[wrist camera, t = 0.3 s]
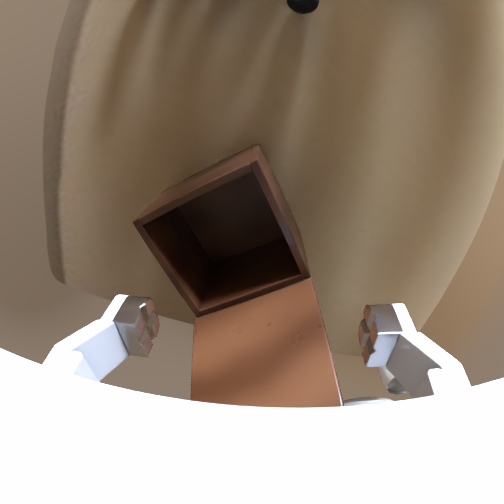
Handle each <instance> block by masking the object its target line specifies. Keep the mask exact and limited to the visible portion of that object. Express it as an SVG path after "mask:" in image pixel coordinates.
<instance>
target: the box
mask: <svg viewBox="0 0 504 504" xmlns="http://www.w3.org/2000/svg"><path fill="white" fill-rule="evenodd" d="M133 224H134V225H135V227H136V229H137V230H138V232H139V233H140V235H141V236H142V238H143V240H144V241H145V243H146V244H147V246H148V247H149V249H150V250H151V252H152V253H153V255H154V256H155V258H156V259H157V261H158V262H159V264H160V265H161V267H162V268H163V270H164V271H165V273H166V274H167V276H168V277H169V279H170V280H171V282H172V283H173V284H174V286H175V287H176V289H177V290H178V292H179V293H180V294H181V296H182V297H183V299H184V300H185V301H186V303H187V304H188V306H189V307H190V308H191V310H192V311H193V312H194V314H195V315H196V317H197V318H198V317H201V316H204V315H207V314H210V313H213V312H216V311H219V310H222V309H225V308H228V307H231V306H234V305H237V304H240V303H242V302H245V301H248V300H251V299H254V298H257V297H259V296H262V295H265V294H268V293H271V292H273V291H276V290H279V289H282V288H284V287H287V286H290V285H292V284H295V283H298V282H301V281H303V280H305V279H308V278H310V277H311V275H310V271H309V267H308V263H307V258H306V254H305V250H304V246H303V242H302V238H301V234H300V231H299V229H298V227H297V224H296V222H295V220H294V217H293V215H292V213H291V211H290V208H289V206H288V204H287V202H286V200H285V197H284V195H283V193H282V191H281V189H280V187H279V184H278V182H277V180H276V178H275V176H274V174H273V171H272V169H271V167H270V165H269V163H268V161H267V159H266V157H265V155H264V153H263V150H262V148H261V146H260V144H257V145H255V146H252V147H250V148H248V149H246V150H244V151H241V152H239V153H237V154H235V155H233V156H231V157H229V158H227V159H224V160H222V161H220V162H218V163H216V164H214V165H212V166H210V167H208V168H206V169H204V170H202V171H200V172H198V173H196V174H194V175H192V176H190V177H189V178H187V179H185V180H183V181H181V182H179V183H177V184H175V185H173V186H172V187H170V188H168V189H166V190H165V191H164V192H163V193H162V194H161V195H160V196H159V197H157V198H156V199H155V200H154V201H153V202H152V203H151V204H150V205H149V206H148V207H147V208H146V209H145V210H144V211H143V212H142V213H141V214H140V215H139V216H138V217H137V218H136V219H135V220H134V221H133Z"/></svg>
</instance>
